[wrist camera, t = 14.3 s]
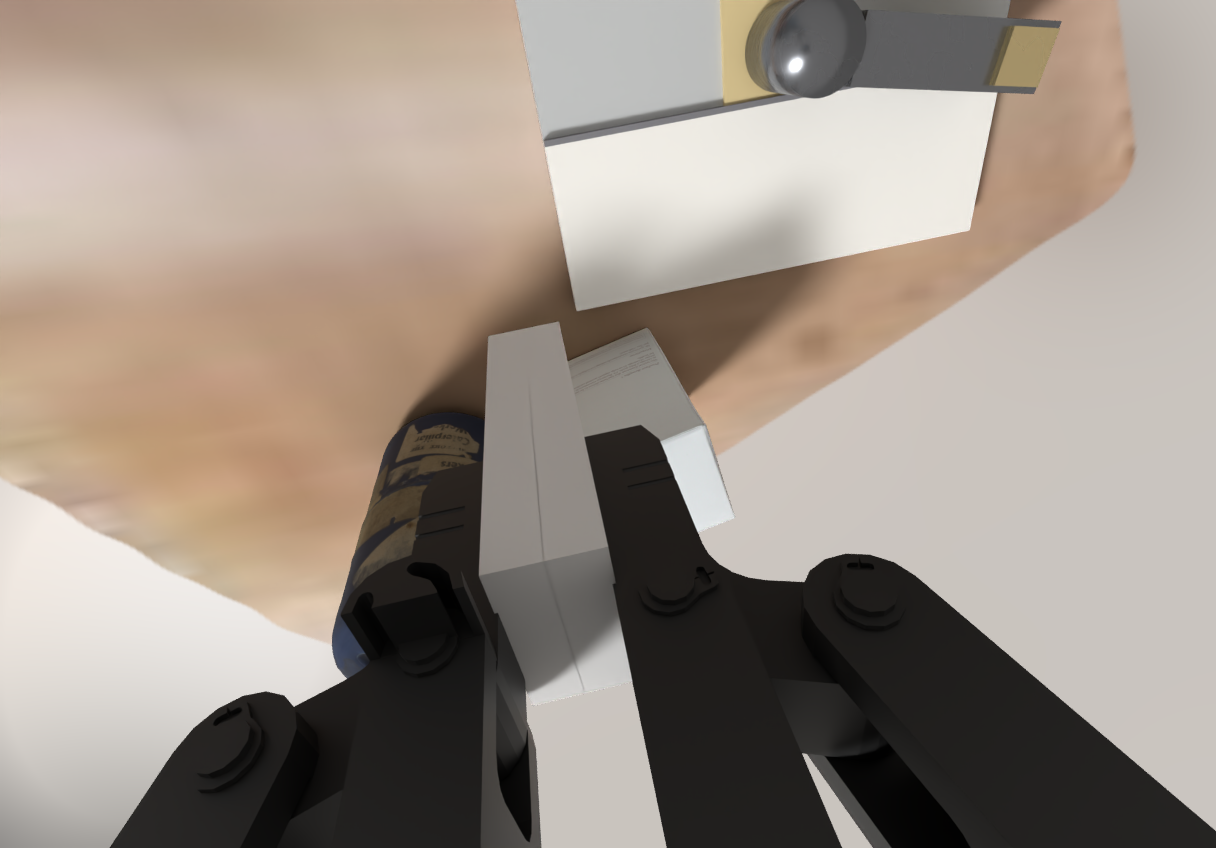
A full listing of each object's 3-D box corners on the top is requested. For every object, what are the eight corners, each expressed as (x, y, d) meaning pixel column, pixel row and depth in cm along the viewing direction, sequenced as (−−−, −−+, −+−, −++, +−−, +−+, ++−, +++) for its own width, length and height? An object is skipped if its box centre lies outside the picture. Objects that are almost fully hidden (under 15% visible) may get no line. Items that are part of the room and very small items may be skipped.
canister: (507, 394, 40) (511, 596, 25) (527, 496, 46) (540, 714, 31) (367, 413, 39) (286, 634, 24) (404, 515, 45) (356, 749, 30)
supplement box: (590, 443, 44) (618, 567, 33) (551, 364, 40) (569, 477, 29) (680, 407, 43) (738, 521, 33) (651, 323, 39) (706, 423, 29)
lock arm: (739, 91, 30) (773, 97, 27) (752, -3, 28) (791, -11, 24) (974, 99, 33) (1036, 106, 29) (1003, 12, 30) (1075, 7, 27)
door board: (505, -53, 27) (505, -67, 24) (1021, -143, 28) (1093, -169, 25) (574, 302, 37) (581, 328, 34) (953, 224, 39) (998, 241, 35)
